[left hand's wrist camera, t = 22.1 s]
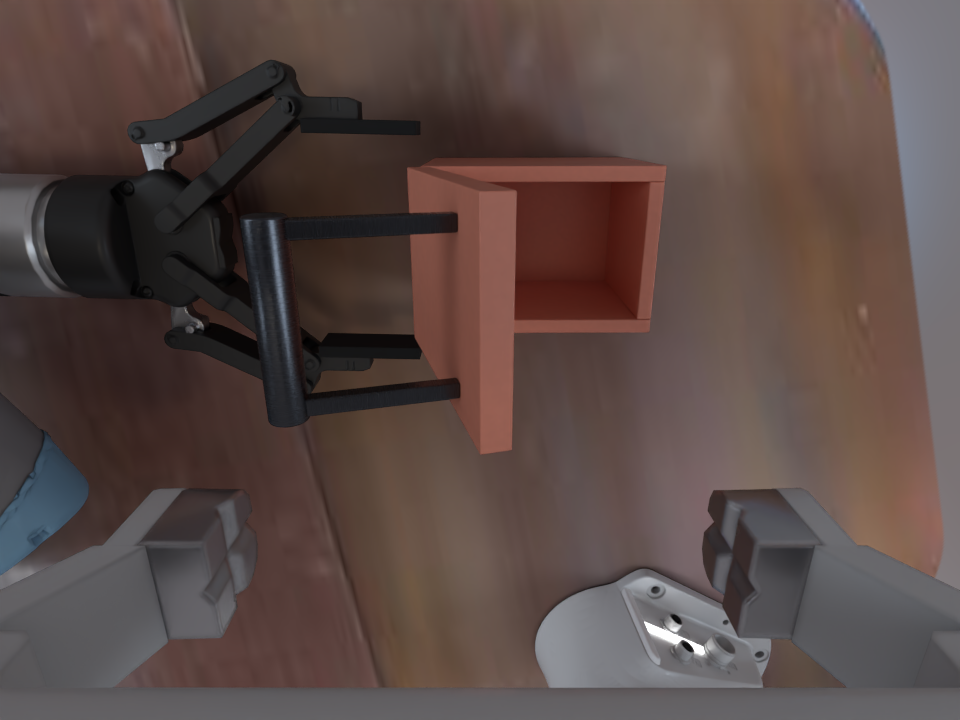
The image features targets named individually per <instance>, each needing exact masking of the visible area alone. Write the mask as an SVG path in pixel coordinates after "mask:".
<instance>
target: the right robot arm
mask: <svg viewBox="0 0 960 720" xmlns="http://www.w3.org/2000/svg"><path fill="white" fill-rule="evenodd" d="M272 96H275V99H276V101H277V102H276V103H275V104H274V105H273V106H272V107H271V108H270V109H269V110H268V111H267V112H266V113H265V114H264V115H263V116H262V117H261V118H260V119H259V120H258V121H257V122H255V123H254V124H253V125H252V126H251V127H250V128H249V129H248V130H247V131H246V132H245V133H244V134H243V135H242V136H241V137H240V138H239V139H238V140H237V141H236V142H235V143H234V144H233V145H232V146H231V147H230V148H229V149H228V150H227V151H226V152H225V153H224V154H223V155H222V156H221V157H220V158H219V159H218V160H217V161H216V162H215V163H214V164H213V165H212V166H211V167H210V168H209V169H208V170H207V171H205V172H204V173H202V174H200V175H199V176H198V177H196V178H195V179H194V180H193V181H190V180H189V179H188V178H186V177H185V176H183V175H182V174H180V173H179V172H177V171H176V170H173V169H171V161H172V159H173V158H174V157H176V156H178V155H180V154H181V153H182V151H183V147H184V145H183V142H182V141H187V140H191V139H194V138H197V137H199V136H201V135H203V134H205V133H207V132H208V131H210V130H212V129H214V128H216V127H217V126H219V125H221V124H223V123H225V122H227V121H228V120H230V119H232V118H234V117H236V116H237V115H239V114H241V113H243V112H245V111H247V110H248V109H250V108H252V107H254V106H256V105H257V104H259V103H261V102H263V101H265V100H267V99H268V98H270V97H272ZM299 124H300V126H301V133H340V134H387V135H420V121H398V120H362V103H361V102H359V101H357V100H355V99H352V98H347V97H308V96H306V95H305V94H304V93H303V92H302V91H301V89H300V87H299V85H298V82H297V80H296V73H295V70H294V69H293V68H292V67H291V66H289V65H287V64H284V63H281V62H278V61H275V60H268V61H266V62H264V63H262V64H261V65H259V66H257V67H255V68H253V69H252V70H250V71H248V72H246V73H245V74H243V75H241V76H239V77H237V78H236V79H234V80H232V81H230V82H229V83H227V84H225V85H223V86H221V87H220V88H218V89H216V90H214V91H213V92H211V93H209V94H207V95H205V96H204V97H202V98H200V99H198V100H197V101H195V102H193V103H191V104H189V105H188V106H186V107H184V108H182V109H181V110H179V111H177V112H175V113H173V114H172V115H170V116H168V117H166V118H164V119H157V120H148V121H138V122H133V123H131V124H130V125H129V127H128V135H129V137H130V139H131V140H132V141H133V142H135V143H137V144H141V148H142V151H143V155H144V158H145V162H146V166H147V169H148V171H147V172H146V173H144V174H142V175H140V176H105V175H74V176H70V177H67V176H64V175H57V174H6V173H0V296H25V297H57V298H76V297H81V296H83V297H87V298H111V299H155V300H159V301H162V302H164V303H166V304H168V305H170V306H171V323H172V330H170V331H169V332H167V333H166V334H165V337H164V340H165V343H166V344H167V345H168V346H169V347H171V348H174V349H182V350H190V351H198V352H202V353H204V354H206V355H209V356H211V357H213V358H215V359H217V360H220V361H222V362H224V363H226V364H228V365H231V366H233V367H235V368H237V369H239V370H242V371H244V372H246V373H248V374H251V375H253V376H255V377H257V378H259V379H262V372H261V365H260V358H259V351H258V344H257V341H255V340H253V339H251V338H249V337H247V336H244V335H242V334H240V333H238V332H236V331H234V330H231V329H229V328H227V327H224V326H222V325H219V324H215V323H210V322H209V318H208V316H206V315H203V314H200V313H198V312H196V311H195V309H194V308H193V305H192V302H195V301H196V300H198V299H199V298H200V297H201V298H202V299H204V300H205V301H206V302H208V303H209V304H210V305H212V306H213V307H214V308H216V309H218V310H222V311H226V312H227V313H229V314H230V315H231V316H233V317H234V318H235V319H237V320H238V321H239V322H241V323H242V324H243V325H245V326H246V327H247V328H249V329H250V330H251V331H253V332H254V333H255V334H256V330H255V323H254V317H253V310H252V303H251V296H250V289H249V284H248V283H247V282H246V281H245V280H244V279H243V278H241V277H240V276H239V275H237V274H236V273H235V272H234V271H233V269H234V266H235V263H237V262H238V258H237V250H236V248H235V245H234V243H233V240H232V232H233V218H232V213H228V211H227V209H226V207H225V206H224V205H223V204H222V203H221V201H222V200H223V199H225V198H226V197H227V196H228V195H229V194H230V193H231V192H232V191H233V190H234V189H235V188H236V186H237V184H238V183H239V182H240V181H241V180H242V179H243V178H244V177H245V176H246V175H247V174H248V173H249V172H250V171H251V170H252V169H254V168H255V167H256V166H257V165H258V164H259V163H260V162H261V161H262V160H263V159H264V158H265V157H266V156H267V155H268V154H269V153H270V152H271V151H272V150H273V149H274V148H275V147H276V146H278V145H279V144H280V143H281V142H282V141H283V140H284V139H285V138H286V137H287V136H288V135H289V134H290V133H291V132H292V131H293V130H294V129H295V128H296V127H297V126H298V125H299ZM300 331H301V340H302V348H303V357H304V365H305V374H306V383H307V391H308V394H311V392H312V391H313V389H314V388H315V386H316V385H317V383H318V381H319V380H320V377H321V372H322V371H326V370H338V371H347V370H348V371H364V370H367V369H370V367H371V365H372V363H373V361H374V359H373V358H382V359H420V356H421V353H422V350H421V348H420V346H419V344H418V343H417V341H416V339H415V335H401V334H349V333H328V334H327V336H326V337H325V338H324V340H323V341H322V342H320V341H318V340H317V339H316V338H314V337H313V336H312V335H310V334H309V333H308V332H307V331H305V330H304V329H303V328H301V327H300ZM262 380H263V379H262ZM88 494H89V485H88V482H87V480H86V478H85V477H84V476H83V475H82V474H81V472H80V471H79V470H78V469H77V468H76V467H75V466H74V465H73V463H72V462H71V461H70V460H69V459H68V458H67V457H66V456H65V455H64V453H63V452H62V451H61V450H60V449H59V448H58V447H57V446H56V445H55V443H54V442H53V441H52V440H51V437H50V436H49V435H48V433H47V432H45V431H43V430H41V429H39V428H38V427H37V426H36V425H35V424H33V423H32V422H31V421H30V420H29V419H28V418H27V417H26V416H25V415H24V414H23V413H22V412H21V411H20V410H18V409H17V408H16V407H15V406H14V405H13V404H12V403H11V402H10V401H9V400H8V399H7V398H6V397H4V396H3V395H2V394H1V393H0V575H2V574H3V573H5V572H6V571H8V570H9V569H10V568H12V567H13V566H14V565H16V564H17V563H18V562H20V561H21V560H22V559H24V558H25V557H26V556H27V555H29V554H30V553H31V552H32V551H34V550H35V549H36V548H37V547H38V546H39V545H40V544H41V543H42V542H44V541H45V540H46V539H47V538H49V537H50V536H51V535H53V534H54V533H55V532H56V531H58V530H59V529H60V528H61V527H62V526H63V525H64V524H66V523H67V522H68V521H69V520H70V519H71V518H72V517H73V516H74V515H75V514H76V513H77V512H78V511H79V510H80V509H81V507H82V506H83V505H84V503H85V501H86V500H87V497H88Z"/></svg>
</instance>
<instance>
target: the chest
mask: <svg viewBox="0 0 960 720" xmlns="http://www.w3.org/2000/svg"><path fill="white" fill-rule="evenodd" d="M421 167H432V168H436V169H440V170H443V171H447V172H451V173H454V174H458V175H462V176H465V177H469V178H473V179H476V180H480V181H484V182H487V183H491V184H495V185H498V186H502V187H506V188H509V189H513V190H516V191H517V204H516V257H515V311H514V333H629V332H649V329H650V318H651V311H652V301H653V291H654V282H655V272H656V263H657V253H658V243H659V234H660V224H661V214H662V205H663V195H664V186H665V182H664V181H665V177H666V168H667V166H666V165H660V164H655V163H650V162H644V161H639V160H634V159H628V158H622V157H562V158H434V159H432V160H431V161H429V162H427V163H426V164H424V165H422V166H421Z"/></svg>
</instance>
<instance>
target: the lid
mask: <svg viewBox="0 0 960 720" xmlns="http://www.w3.org/2000/svg"><path fill="white" fill-rule="evenodd" d="M407 174H408V197H409V213H398V214H371V215H345V216H319V217H292V218H287V215H286V214H283V213H252V214H246V215H242V216H240V226H241V233H242V240H243V247H244V254H245V261H246V268H247V275H248V282H249V289H250V296H251V303H252V310H253V317H254V323H255V330H256V337H257V344H258V351H259V358H260V365H261V372H262V379H263V386H264V393H265V400H266V407H267V414H268V421H269V423H270V424H271V425H273V426H276V427H293V426H297V425H300V424H302V423H304V422H306V421H307V420H308V419H309V417H310V416H315V415H323V414H332V413H340V412H348V411H357V410H365V409H374V408H382V407H390V406H399V405H407V404H415V403H424V402H432V401H441V400H449V399H450V401H451V403H452V405H453V407H454V408H455V410H456V412H457V414H458V415H459V417H460V419H461V421H462V423H463V424H464V426H465V428H466V430H467V432H468V433H469V435H470V437H471V439H472V440H473V442H474V444H475V446H476V448H477V449H478V451H479V453H480V454H488V453H495V452H502V451H509V450H512V417H513V364H514V311H515V257H516V204H517V191H516V190H513V189H509V188H506V187H502V186H498V185H495V184H491V183H487V182H484V181H480V180H476V179H473V178H469V177H465V176H462V175H458V174H454V173H451V172H447V171H443V170H440V169H436V168H432V167H408V168H407ZM396 235H410V242H411V265H412V288H413V311H414V333H415V339H416V341H417V343H418V344H419V346H420V348H421V350H422V351H423V353H424V355H425V357H426V359H427V360H428V362H429V364H430V366H431V367H432V369H433V371H434V373H435V375H436V376H437V378H438V380H430V381H421V382H411V383H402V384H393V385H384V386H375V387H366V388H357V389H348V390H339V391H330V392H321V393H312V394H308V391H307V383H306V374H305V365H304V357H303V348H302V340H301V331H300V322H299V314H298V305H297V296H296V288H295V279H294V270H293V262H292V253H291V244H290V240H311V239H332V238H353V237H374V236H396Z"/></svg>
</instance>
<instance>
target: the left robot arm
mask: <svg viewBox="0 0 960 720" xmlns="http://www.w3.org/2000/svg"><path fill="white" fill-rule="evenodd" d="M251 512H252V507H251V502H250V497H249V494H248V493H247V492H246V491H245V490H243V489H194V488H189V489H186V488H160V489H156V490H153V491H152V492H151V493H150V494H149V495H148V496H147V498H146V499H145V500H144V501H143V502H142V503H141V504H140V505H139V506H138V507H137V508H136V510H135V511H134V512H133V513H132V514H131V515H130V516H129V517H128V518H127V519H126V520H125V522H124V523H123V524H122V525H121V526H120V527H119V528H118V529H117V530H116V531H115V532H114V534H113V535H112V536H111V537H110V538H109V539H108V540H107V541H106V542H105V543H104V544H103V546H91V547H89V548H87V549H85V550H83V551H81V552H79V553H77V554H75V555H72V556H70V557H68V558H66V559H64V560H62V561H60V562H58V563H56V564H54V565H52V566H50V567H47V568H45V569H43V570H41V571H39V572H37V573H35V574H33V575H31V576H29V577H27V578H25V579H23V580H20V581H18V582H16V583H14V584H12V585H10V586H8V587H6V588H4V589H2V590H0V720H960V590H958V589H956V588H954V587H952V586H950V585H948V584H946V583H944V582H941V581H939V580H937V579H935V578H933V577H931V576H929V575H927V574H925V573H923V572H921V571H919V570H917V569H914V568H912V567H910V566H908V565H906V564H904V563H902V562H900V561H898V560H896V559H894V558H892V557H890V556H887V555H885V554H883V553H881V552H879V551H877V550H875V549H873V548H871V547H869V546H857V544H856V543H855V542H854V541H853V540H852V539H851V538H850V537H849V536H848V535H847V534H846V532H845V531H844V530H843V529H842V528H841V527H840V526H839V525H838V524H837V523H836V522H835V520H834V519H833V518H832V517H831V516H830V515H829V514H828V513H827V512H826V511H825V510H824V508H823V507H822V506H821V505H820V504H819V503H818V502H817V501H816V500H815V499H814V498H813V496H812V495H811V494H810V493H809V492H808V491H806V490H804V489H802V488H781V489H757V490H714V491H713V493H712V495H711V497H710V500H709V506H708V512H709V514H710V516H711V517H712V519H713V521H714V523H713V524H712V525H711V526H710V527H709V528H708V529H707V530H706V531H705V532H704V538H703V546H702V552H703V564H704V568H705V571H706V574H707V577H708V579H709V581H710V583H711V585H712V587H713V588H714V589H716V590H717V591H719V592H720V593H722V594H723V595H724V600H723V604H721V603H719V602H717V601H715V600H713V599H710V598H708V597H706V596H704V595H702V594H700V593H698V592H696V591H694V590H692V589H690V588H688V587H686V586H684V585H682V584H679V583H677V582H675V581H673V580H671V579H669V578H667V577H665V576H663V575H661V574H659V573H657V572H655V571H653V570H650V569H639V570H636V571H634V572H632V573H630V574H628V575H626V576H625V577H623V578H621V579H620V580H618V581H617V582H614V583H611V584H608V585H604V586H599V587H594V588H591V589H587V590H584V591H581V592H579V593H577V594H574V595H572V596H570V597H569V598H567V599H565V600H564V601H562V602H561V603H560V604H558V605H557V606H556V607H555V608H554V609H553V610H552V611H551V612H550V613H549V614H548V615H547V616H546V618H545V619H544V620H543V622H542V624H541V626H540V628H539V630H538V633H537V636H536V641H535V653H536V658H537V661H538V664H539V666H540V668H541V670H542V672H543V674H544V676H545V678H546V680H547V683H548V686H549V688H113V687H114V686H115V685H117V684H118V683H119V682H120V681H122V680H123V679H124V678H125V677H126V676H128V675H129V674H130V673H131V672H132V671H134V670H135V669H136V668H137V667H139V666H140V665H141V664H142V663H143V662H145V661H146V660H147V659H148V658H150V657H151V656H152V655H153V654H154V653H156V652H157V651H158V650H159V649H161V648H162V647H163V646H164V645H165V644H167V643H168V639H198V638H222V636H223V634H224V632H225V630H226V628H227V627H228V625H229V623H230V621H231V619H232V617H233V615H234V613H235V611H236V609H237V607H238V606H237V600H236V595H237V594H238V593H240V592H241V591H243V590H244V589H246V588H247V587H248V585H249V583H250V581H251V579H252V577H253V575H254V571H255V566H256V562H257V551H258V544H257V537H256V532H255V531H254V530H253V529H252V528H251V527H250V526H249V525H248V524H247V523H246V521H247V519H248V517H249V516H250V514H251ZM654 586H657V587H655V588H652V587H654ZM771 639H792V643H794V644H795V645H796V646H797V647H798V648H800V649H801V650H802V651H803V652H805V653H806V654H807V655H808V656H809V657H811V658H812V659H813V660H814V661H816V662H817V663H818V664H819V665H820V666H822V667H823V668H824V669H825V670H827V671H828V672H829V673H830V674H831V675H833V676H834V677H835V678H836V679H837V680H839V681H840V682H841V683H842V684H844V685H845V686H846V687H847V688H763V683H762V679H761V677H762V675H763V673H764V671H765V668H766V666H767V663H768V660H769V657H770V652H771Z"/></svg>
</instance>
